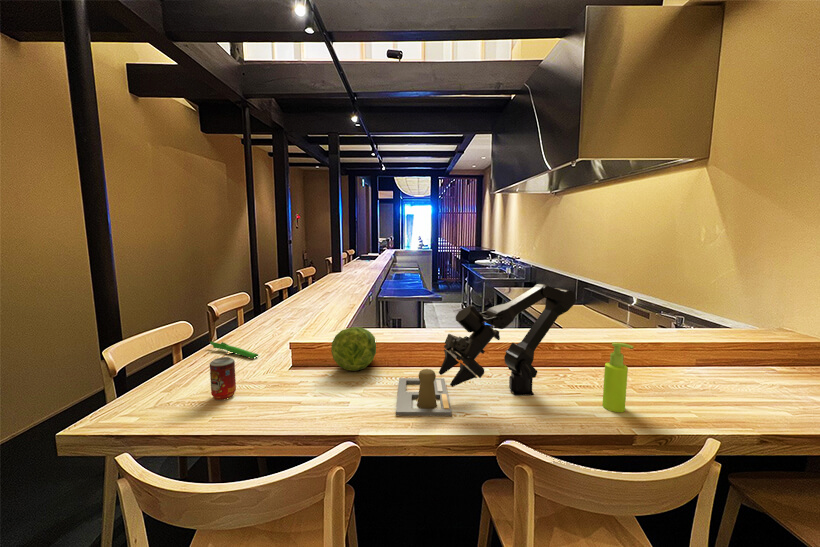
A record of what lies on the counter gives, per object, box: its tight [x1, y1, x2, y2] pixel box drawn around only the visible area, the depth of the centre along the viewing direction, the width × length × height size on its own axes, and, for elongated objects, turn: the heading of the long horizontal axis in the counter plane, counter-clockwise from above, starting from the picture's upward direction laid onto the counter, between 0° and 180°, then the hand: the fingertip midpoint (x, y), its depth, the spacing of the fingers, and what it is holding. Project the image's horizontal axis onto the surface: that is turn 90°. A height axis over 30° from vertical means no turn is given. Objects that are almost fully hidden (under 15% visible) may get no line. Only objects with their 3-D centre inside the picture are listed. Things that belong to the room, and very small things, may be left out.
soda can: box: [209, 356, 237, 401], centre depth 112 cm, size 7×7×12 cm
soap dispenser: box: [601, 342, 635, 413], centre depth 104 cm, size 6×7×20 cm
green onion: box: [209, 341, 259, 359], centre depth 153 cm, size 5×3×30 cm
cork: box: [416, 368, 438, 409], centre depth 106 cm, size 6×6×11 cm
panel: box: [395, 377, 452, 417], centre depth 112 cm, size 16×24×2 cm, turn 179°
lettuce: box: [330, 326, 377, 372], centre depth 140 cm, size 17×23×16 cm
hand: (445, 379), depth 108 cm, fingers open, 9 cm apart
